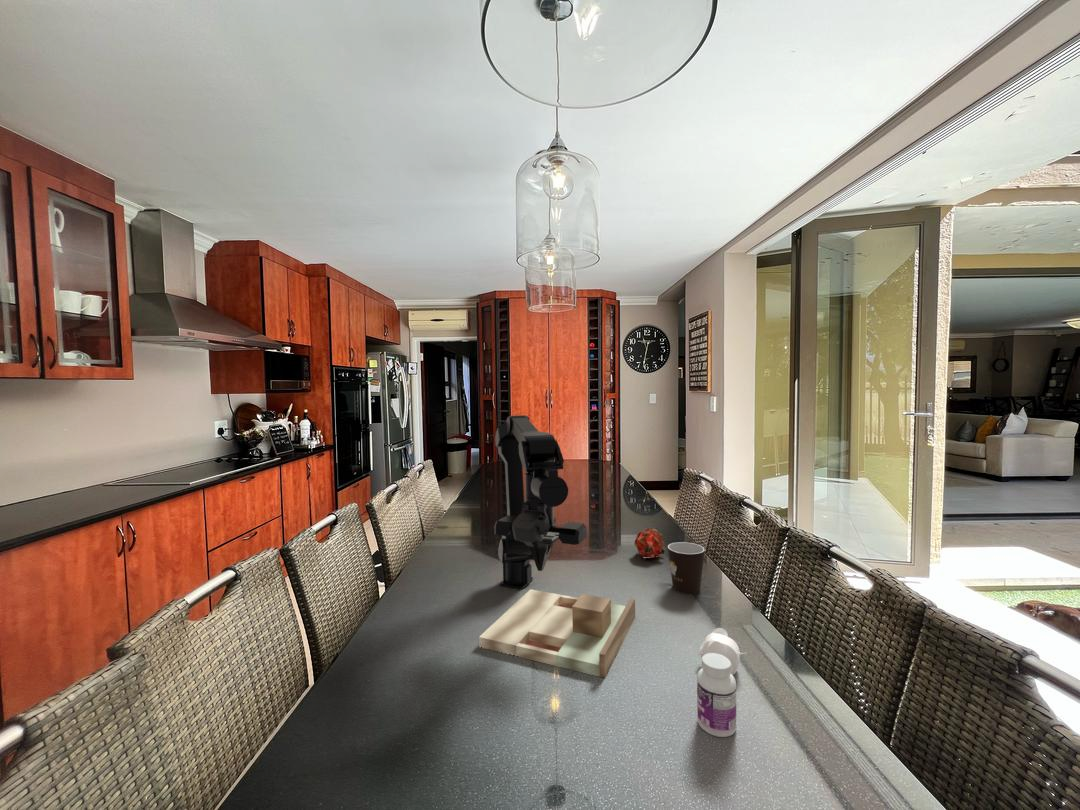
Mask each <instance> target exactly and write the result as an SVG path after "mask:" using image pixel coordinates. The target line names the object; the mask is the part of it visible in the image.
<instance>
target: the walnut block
mask: <svg viewBox="0 0 1080 810" xmlns="http://www.w3.org/2000/svg"><path fill="white" fill-rule="evenodd" d="M578 598H579V599H578V600H577V601H576V603H575V604H574V605H573V606H572V619H573V632H576V633H581V634H586V635H590V636H595V637H600V638H603V636H604V635H605V633H606V631H607V629H608V628H609V626H610V624H611V604H612V601H611V599H612V598H607V597H601V596H595V595H589V594H585V593H582V594H581V595H580V596H579V597H578Z"/></svg>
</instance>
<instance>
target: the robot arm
mask: <svg viewBox="0 0 1080 810" xmlns="http://www.w3.org/2000/svg"><path fill="white" fill-rule="evenodd" d="M494 436H495V437H494V439H495V440H494V442H495V447H496V448H497V451H498V452H497V453H498V455H499V456H500V458H501V460H502V461H503V462H504V470H505V471H504V472H505V473H504V474H505V491H506V492H505V493H506V510H507V511H506V512H507V513H506V515H505V516H503V517H502V518H500V519H498V520H496V522H495V524H494V526H493V528H494V535H495V536H501V538H500V541H499V544H498V549H497V551H498V552H497V553H498V555H497V556H498V558H499V561H500V562H501V564H502V580H501V581H500V583H499V584H500V586H504V587H510V588H516V589H521V590H522V589H524V588H525V587H527V586H528V584H530V583H531V582H532V581H534V578H533V576H532V573H533V572H532V571H533V570H532V564H531V560H533V562H534V564H535V566H536V569H537V571H538V572H543V570H544V569H545V566H546V563H547V560H548V558H549V556H550V553H551V551H552V548H553V546H554V544H555V543H556V542H558V541H560V542H561V543H562V544H566V545H574V546H575V545H577V546H578V545H580V543H582V542H583V541H584V540H586V538H588V530H587V526H586V525H585V523H582V522H573V521H567V522H566V523H565V524H563V525H562V526H561V525H560V526H559V525H554V524H556V519H557V518H556V517H555V516H554V508H556V507H558V506H559V507H560V505H562V504H564V502H565V501H566V499H568V495H569V487H568V484H567V482H566V481H565V480H564V478H562V477H561V476H559V471H558V470H563V469H564V461H565V459H564V456H563V453H562V451H561V447H560V445H559V443H558V440H557V439H556V438H555V436H554V435H553V434H551V433H549V432H546V431H545V432H544V431H539V430H538V429H537V428H536V426H535V425H534V424H533V423H532V422H531V421H530V418H529V416H528V415H525V414H524V415H523V414H522V415H521V414H519V415H518V414H517V415H510V416H508V417H507V418H506V421H504V422H503V423H502V424H500V425H499V426H498V427H497V429H496V431H495V435H494ZM523 471H524V472H525V473H524V472H523ZM524 481H525V482H524ZM524 486H525V490H524Z"/></svg>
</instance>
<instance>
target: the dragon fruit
mask: <svg viewBox="0 0 1080 810" xmlns="http://www.w3.org/2000/svg"><path fill="white" fill-rule="evenodd" d="M664 537H665V536H664V535H663V534H662V533H660V532H659V531H658V530H657V529H655V528H652V529H649V528H645V529H643V531H639V532H638V533H637V534H636V538H635V539H634V542H633V543H634V547H636V550H637V551H638V553H639V554H640V556H641V558H642V557H650V558H649V559H655V558H659V557H660V556H661V555H664V554H665V552H666V545H665V543H666V542H664V540H663V539H664ZM655 556H657V557H655ZM643 560H647V559H646V558H644V559H643Z"/></svg>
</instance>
